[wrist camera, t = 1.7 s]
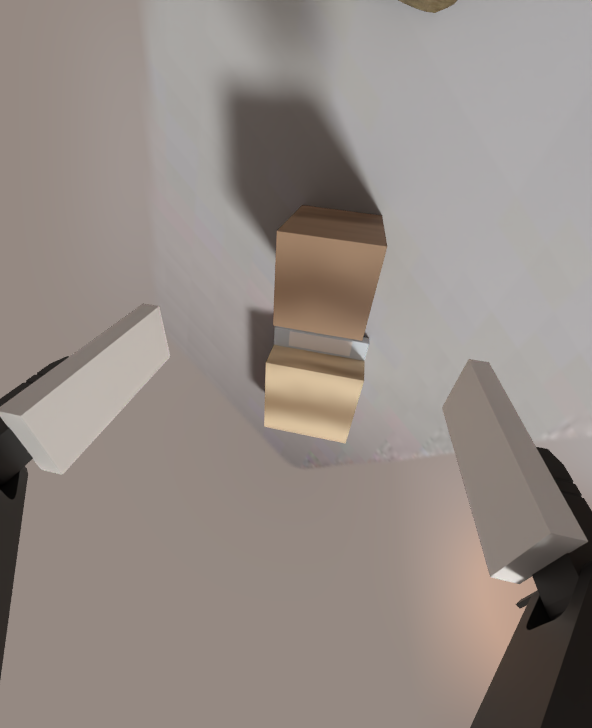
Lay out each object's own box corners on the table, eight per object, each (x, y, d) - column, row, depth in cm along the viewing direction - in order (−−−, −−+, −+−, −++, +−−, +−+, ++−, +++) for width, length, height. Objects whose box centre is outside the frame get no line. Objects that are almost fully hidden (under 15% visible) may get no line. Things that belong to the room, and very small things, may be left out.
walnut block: (302, 205, 23) (276, 231, 16) (382, 215, 22) (387, 246, 16) (295, 280, 26) (273, 325, 20) (363, 291, 26) (362, 340, 19)
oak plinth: (273, 344, 30) (265, 362, 27) (364, 360, 29) (363, 380, 26) (271, 407, 35) (264, 426, 33) (346, 422, 34) (345, 443, 32)
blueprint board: (277, 322, 29) (274, 327, 28) (369, 338, 28) (369, 344, 27) (272, 412, 37) (270, 418, 36) (344, 427, 36) (343, 433, 35)
